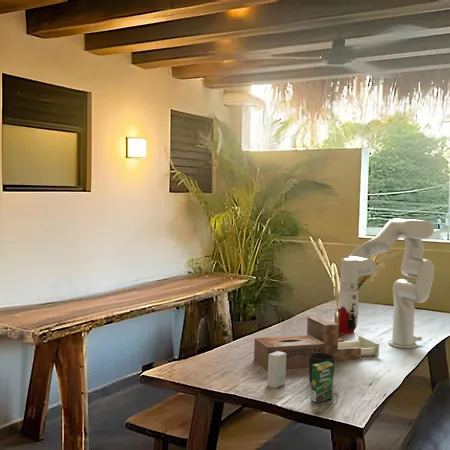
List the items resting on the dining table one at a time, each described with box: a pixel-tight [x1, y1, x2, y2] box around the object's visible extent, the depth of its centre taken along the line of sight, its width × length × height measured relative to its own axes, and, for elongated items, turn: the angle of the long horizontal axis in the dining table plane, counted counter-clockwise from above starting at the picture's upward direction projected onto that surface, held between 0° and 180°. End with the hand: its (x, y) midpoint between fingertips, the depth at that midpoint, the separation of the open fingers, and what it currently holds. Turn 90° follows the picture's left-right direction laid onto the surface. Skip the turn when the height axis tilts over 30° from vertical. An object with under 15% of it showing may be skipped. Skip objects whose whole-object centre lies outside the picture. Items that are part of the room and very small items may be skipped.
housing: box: [306, 315, 362, 363], centre depth 255 cm, size 18×16×16 cm
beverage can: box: [338, 306, 355, 336], centre depth 256 cm, size 7×7×12 cm
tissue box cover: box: [253, 334, 326, 372], centre depth 241 cm, size 26×14×10 cm, turn 108°
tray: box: [338, 334, 380, 358], centre depth 258 cm, size 19×15×6 cm
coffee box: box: [310, 361, 334, 404], centre depth 200 cm, size 8×3×13 cm, turn 125°
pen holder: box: [308, 353, 335, 383], centre depth 219 cm, size 9×9×10 cm
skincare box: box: [266, 351, 287, 389], centre depth 215 cm, size 6×4×12 cm
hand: (346, 326), depth 256 cm, fingers closed on beverage can, 6 cm apart
